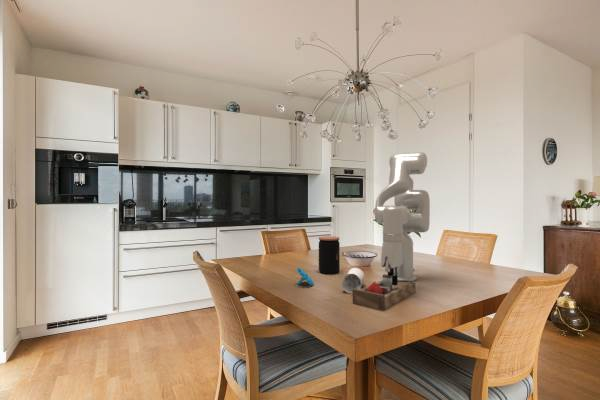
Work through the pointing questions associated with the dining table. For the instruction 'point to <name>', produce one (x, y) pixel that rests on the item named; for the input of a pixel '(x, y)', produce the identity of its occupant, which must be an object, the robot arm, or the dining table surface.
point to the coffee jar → (329, 255)
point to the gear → (304, 277)
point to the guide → (382, 296)
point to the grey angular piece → (387, 284)
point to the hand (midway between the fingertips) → (392, 284)
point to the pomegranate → (375, 288)
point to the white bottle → (352, 280)
